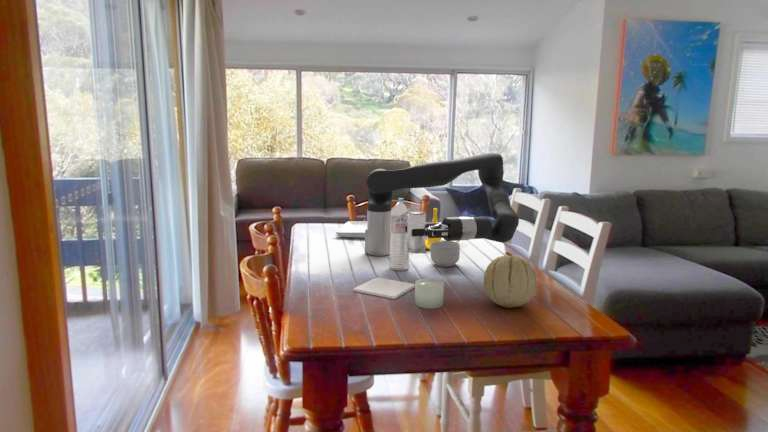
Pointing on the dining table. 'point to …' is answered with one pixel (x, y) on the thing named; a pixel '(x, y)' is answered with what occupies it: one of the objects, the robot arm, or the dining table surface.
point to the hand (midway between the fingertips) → (408, 230)
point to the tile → (384, 288)
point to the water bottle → (399, 237)
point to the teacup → (445, 253)
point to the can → (416, 222)
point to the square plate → (353, 229)
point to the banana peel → (431, 240)
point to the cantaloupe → (510, 281)
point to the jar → (429, 293)
